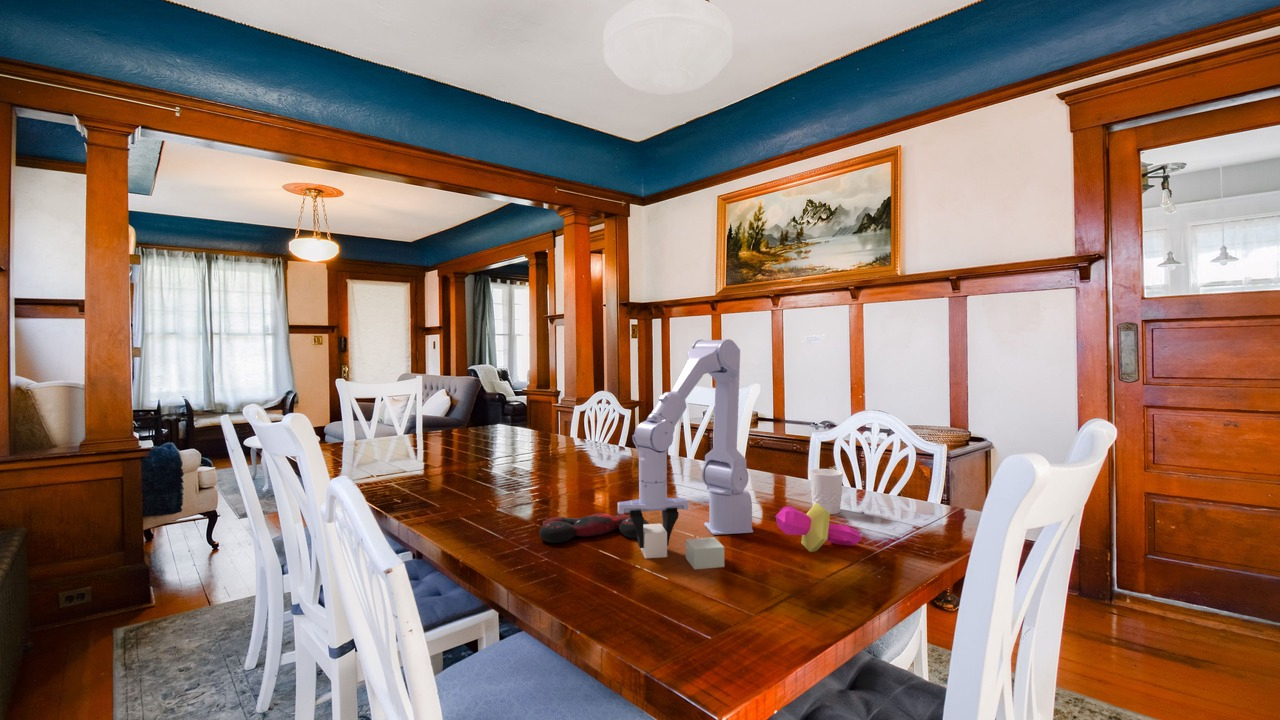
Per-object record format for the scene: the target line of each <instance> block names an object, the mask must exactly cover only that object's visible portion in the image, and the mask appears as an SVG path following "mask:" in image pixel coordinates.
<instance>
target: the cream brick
mask: <svg viewBox="0 0 1280 720" xmlns="http://www.w3.org/2000/svg"><path fill="white" fill-rule="evenodd" d="M643 539H644V547H643V548H640V547H639V548H640V551H641V553H642V555H643V556H644V559H655V558H656V559H659V558H668V546H667V532H666V530H665V529H664V527H663V523H649V524H644V525H643Z"/></svg>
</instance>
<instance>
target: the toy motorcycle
mask: <svg viewBox="0 0 1280 720" xmlns="http://www.w3.org/2000/svg"><path fill="white" fill-rule="evenodd" d="M644 524H650V523H649V521H647V520H646V519H644ZM617 529H619V532H620V533H621V534H622V535H623V536H625V537H627V538H629V539H635V540H636V539H637V540H638V538H637V534H636V530H635V527H634V525H633V522H632V520H631V517H630V515H629V514H628V515H627V514H619V513H618V512H616V513H615V516H614V515H611V514H608V513H605V512H600V513H594V514H591V515H588V516H587V515H586V516H582V517H580V518H577V517H576V518H571V517H563V516H555V517H550V518H547V519H545V520H543V521H542V526H541V527H540V529H539V533H538V534H539V537H540V539H542V540H543V541H544V542H546V543H550V544H562V543H566V542H568V541H570V540H572V538H574V537H583V538H586V537H594V536H600V535H605V534H607V533H609V532H610V533H611V532H613V531H615V530H617Z"/></svg>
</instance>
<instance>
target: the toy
mask: <svg viewBox="0 0 1280 720" xmlns="http://www.w3.org/2000/svg"><path fill="white" fill-rule="evenodd" d="M830 517H831V514H830V513H829V512H828V511H827V510H825V509H824V508H823V507H821V506H820V505H819V504H817V503H815V504H814V505H813V504H812V507H811V508H810V509H809V510H808V512H806V513H805V512H802V511H801V510H799V509H797V508H795V507H794V506H792V505H787V506H783V507H782V508H781V509H780V510H779V511H778V513H776V515H775V519H776V525H777V526H778V528H779V529H780V530H781V531H782V532H783V534H785V535H788V536H789V535H791V536H792V535H794V536H797V535H798V536H801V540H800V541H801V545H802V546H804V548H806V550H807V551H808V552H809V553H813V552H815V553H816V552H817V551H818V550H819V549H820V548H821V547H822V546H823V544H825V543H826V542H828V543H831V544H836V545H843V546H848V547H849V546H854V545H857V544H858V543H859V542H860V541H861V540H862V539H863V537H862V536H861V534H860V532H859V531H858V530H857V529H856V528H854V527H851V526H850V525H846V524H845V525H844V524H839V523H838V524H837V523H832V522H830V521H831V520H830Z"/></svg>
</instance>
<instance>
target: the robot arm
mask: <svg viewBox="0 0 1280 720" xmlns="http://www.w3.org/2000/svg"><path fill="white" fill-rule="evenodd" d="M687 359H688V360H687V362H686V363H685V365H684V367H683V369H682V371H681V373H680V375H679V377H678V379H676V382H675V384H674V386H673V387H672V388H671V391H665V392H664V393H662V394H660V396H659V397H658V402H657V403H656V405H654V408H653V409H652V411H651V413H650V414H649V415H648V416H647V418H646V420H644V421H642V422H640V423H639V424H638V425H637V426H636V427H635V429H634V434H633V435H632V442H633V444H634V446H635V448H636V454H637V456H638V489H639V490H638V494H639V495H638V499H631V500H625V501H618V502H617V513H618V514H623V515H625V514H628V516H630V517H631V520H632V522H633V525H634V527H635V530H636V534H637V538H638V539H637V542H638V547H639V548H643V547H644V539H643V525H644V520H645V518H644V516H643V512H655V511H661V516H662V518H661V519H662V526H663V527H664V529H665V530H666V532H667V547H669V545H670V544H669V542H670V539H671V535H672V531H673V529H674V526H675V524H676V522H677V520H678V519H679V515H680V513H679V511H678V510H683V511H687V510H689V500H688V499H687V497H685V498H683V497H682V498H679V497H668V484H667V483H668V477H667V476H668V475H667V474H668V470H667V467H668V466H667V465H668V460H667V456H668V455H667V454H668V452H667V451H668V449H669V448H670V447H671V445H672V444H673V441H674V433H675V429H676V426H677V424H678V422H679V421H680V419H681V417H682V416H683V414H684V413H685V411H686V410H687V401H686V399H687V398H688V397H689V395H690V394H691V393H692V391H693V390H694V388H695V387H696V386H697V384H698V383H699V382H700V380H701V379H702V378H703V377H704V375H705V374H708V375H710V376H711V378H712V380H714V381H715V390H714V391H715V392H714V393H715V394H714V416H713V417H714V418H713V419H714V420H713V440H712V441H713V442H712V443H713V444H712V445H713V446H712V449H711V450H709V452H707V453H706V454H705V455H704V462H703V463H704V464H703V466H702V469H701V479H702V482H703V483H704V485H705V486H706V490H708V491H709V492H708V494H709V497H708V498H709V499H708V501H709V502H708V503H709V504H708V505H709V507H708V509H709V510H708V511H709V514H708V515H709V517H708V518H709V519H708V521H706V522H704V523H703V525H704V526H705V527H706V528H707V530H708V531H709V532H710V533H711V534H712V535H714V536H715V535H719V536H720V535H732V534H734V535H735V534H749V533H750V534H751V533H754V530H753V502H752V501H753V500H752V496H751V494H750V492H749V490H745V489H746V488H747V486H748V482H749V472H748V468H747V458H746V457H745V456H744V455H743V454H742V453H741V452H740V451H739V450H738V426H739V424H738V423H739V400H740V399H739V396H740V371H741V370H740V369H741V366H740V365H741V364H740V363H741V349H740V348H739V346H738V344H737V343H736V342H735V341H734V340H732V339H712V340H711V339H710V340H709V339H708V340H707V339H698V340H695V341H694V342H693V343H692V345H691V347H690V349H689V350H688V351H687Z"/></svg>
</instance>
